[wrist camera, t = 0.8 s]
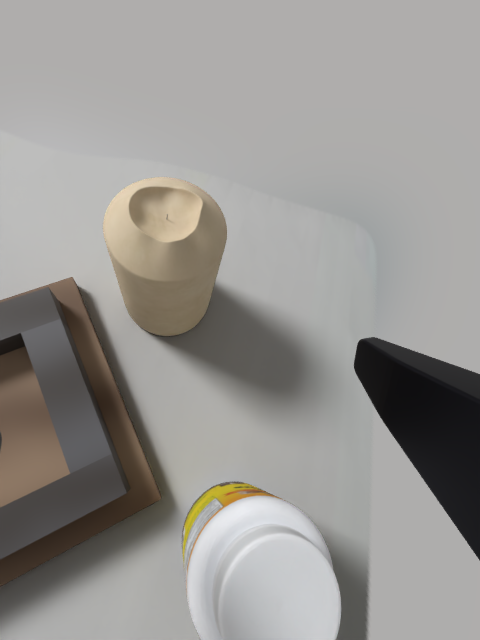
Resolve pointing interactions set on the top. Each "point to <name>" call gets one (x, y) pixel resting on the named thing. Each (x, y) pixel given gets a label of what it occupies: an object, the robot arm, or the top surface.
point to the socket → (61, 432)
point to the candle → (165, 252)
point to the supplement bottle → (257, 568)
